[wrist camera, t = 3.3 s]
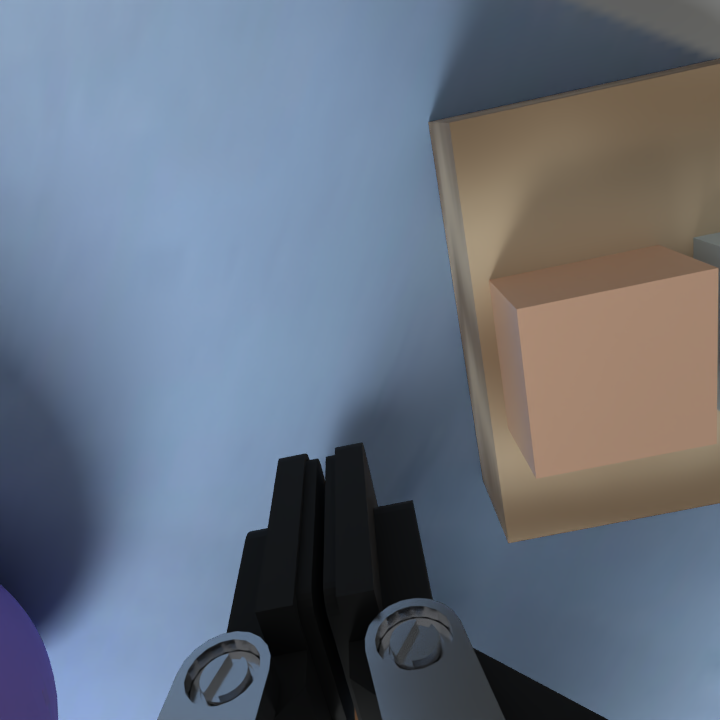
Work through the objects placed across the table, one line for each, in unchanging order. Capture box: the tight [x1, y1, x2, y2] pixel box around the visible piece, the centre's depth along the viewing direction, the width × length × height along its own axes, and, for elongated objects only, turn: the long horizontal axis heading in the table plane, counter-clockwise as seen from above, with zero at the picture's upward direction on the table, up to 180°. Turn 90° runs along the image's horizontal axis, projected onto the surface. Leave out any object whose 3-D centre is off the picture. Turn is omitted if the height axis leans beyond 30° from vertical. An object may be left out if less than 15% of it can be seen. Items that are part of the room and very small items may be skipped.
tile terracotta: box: [489, 245, 719, 479], centre depth 18 cm, size 5×5×3 cm
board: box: [428, 59, 720, 543], centre depth 21 cm, size 14×14×4 cm
